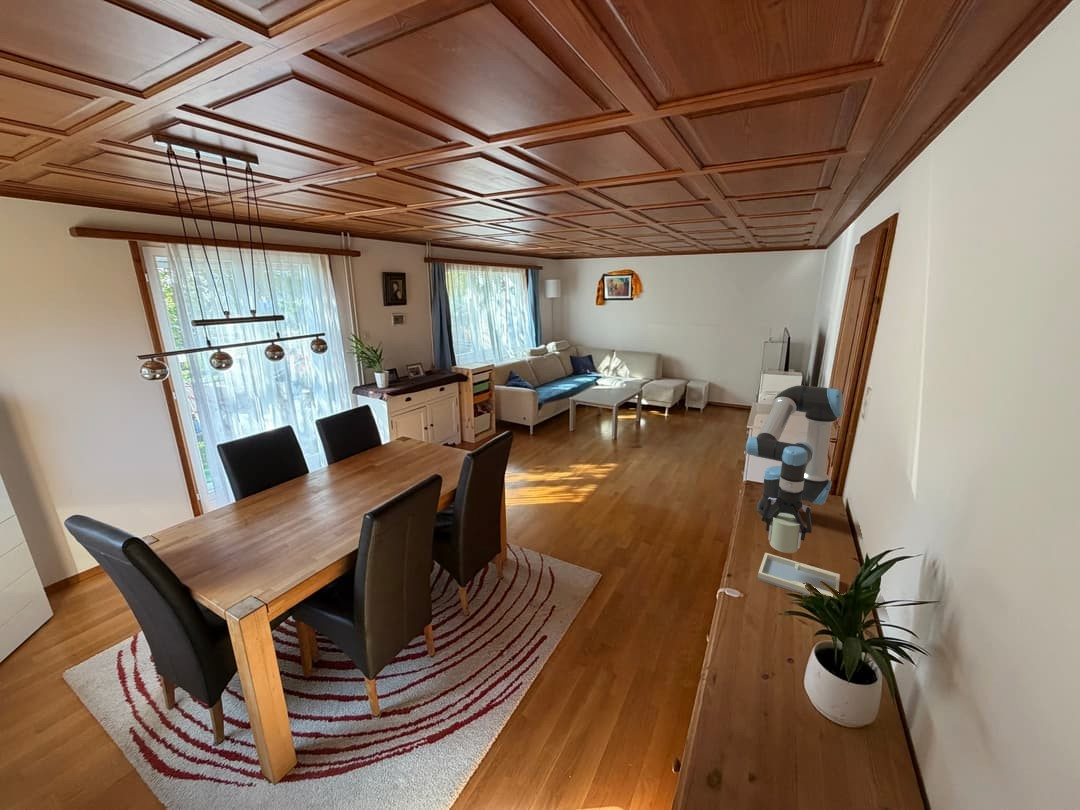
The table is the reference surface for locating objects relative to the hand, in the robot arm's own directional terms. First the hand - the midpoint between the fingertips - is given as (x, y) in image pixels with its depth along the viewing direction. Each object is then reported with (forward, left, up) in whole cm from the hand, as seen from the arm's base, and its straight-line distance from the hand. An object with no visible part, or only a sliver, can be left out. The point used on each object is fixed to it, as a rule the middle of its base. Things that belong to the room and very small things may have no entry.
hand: (783, 542), depth 159 cm
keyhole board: (0, +6, -14) cm, 15 cm away
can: (0, 0, -2) cm, 2 cm away
